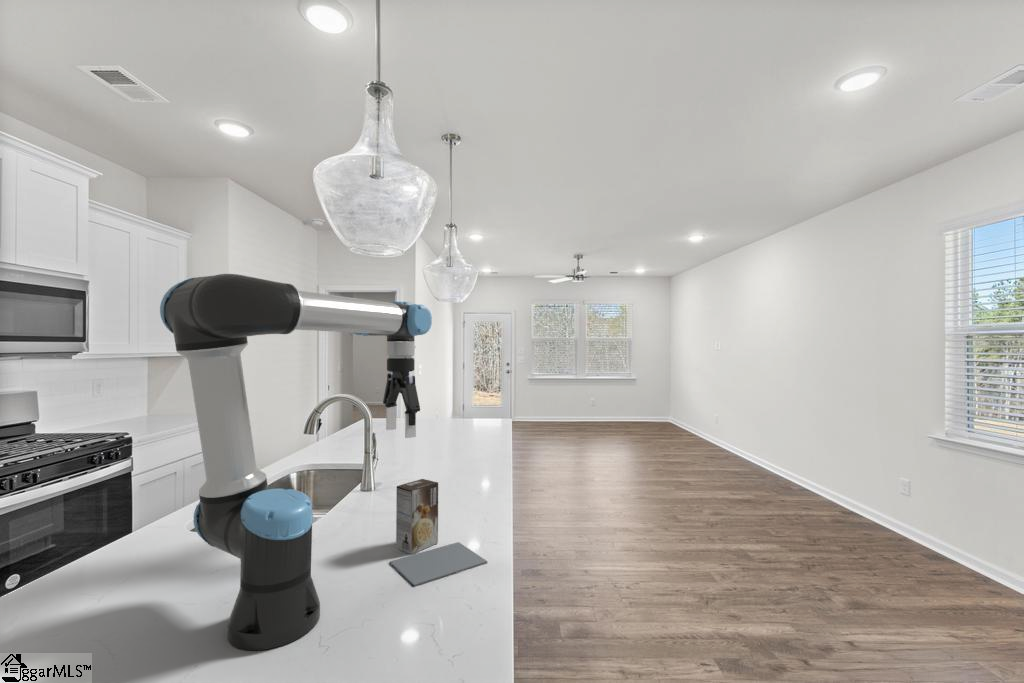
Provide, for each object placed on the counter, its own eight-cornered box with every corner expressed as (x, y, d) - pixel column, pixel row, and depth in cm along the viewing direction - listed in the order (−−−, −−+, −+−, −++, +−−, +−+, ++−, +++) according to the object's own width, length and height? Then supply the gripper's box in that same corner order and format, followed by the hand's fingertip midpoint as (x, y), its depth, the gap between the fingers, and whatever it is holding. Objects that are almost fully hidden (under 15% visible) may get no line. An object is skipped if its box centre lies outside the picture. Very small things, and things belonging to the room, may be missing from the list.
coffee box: (422, 537, 125) (423, 477, 125) (438, 543, 121) (439, 482, 121) (394, 548, 117) (396, 485, 118) (411, 555, 114) (412, 490, 114)
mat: (414, 586, 99) (414, 584, 99) (389, 563, 109) (389, 561, 109) (487, 562, 110) (487, 561, 110) (458, 543, 121) (458, 542, 121)
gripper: (433, 358, 121) (432, 439, 121) (396, 355, 141) (395, 425, 141) (406, 358, 116) (406, 442, 116) (372, 356, 136) (371, 427, 136)
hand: (400, 433), depth 129 cm, fingers open, 13 cm apart
